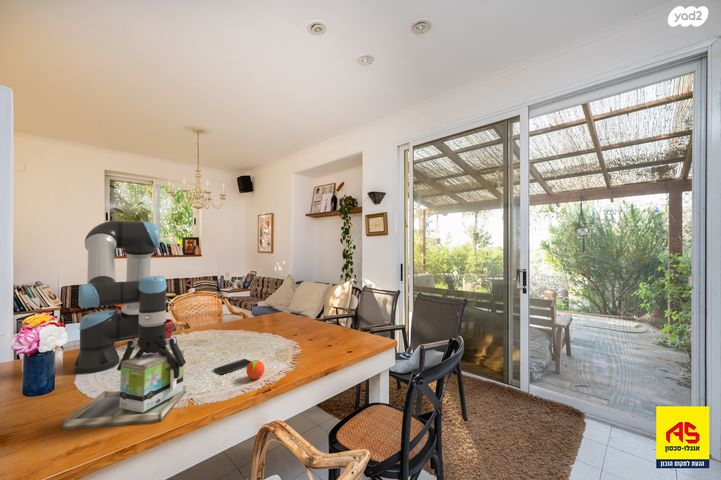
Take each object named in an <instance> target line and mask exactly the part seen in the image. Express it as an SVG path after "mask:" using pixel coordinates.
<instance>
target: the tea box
mask: <svg viewBox="0 0 721 480" xmlns="http://www.w3.org/2000/svg"><path fill="white" fill-rule="evenodd" d="M167 348H168V351H169V352H170V353H171V354H170V356H173V357H174V355H173V352H172V350H171V348H170V347H167ZM179 349H180V348H179ZM180 351H181V353H182V355H183V357H184V358H185V356H184V355H185V354H184V353H185V350H184V349H180ZM174 358H175V357H174ZM184 365H185V364H184ZM184 365H183V366H182V367H180V368H179V377H178V378H176V387H175V388H174V389H173V390H170V370H171V369H172V367H171V365H170V364H169V363H168V362H167V357H166V356H162V355H161V354H159V353H158V352H157V353H145V352H144V353H143V355H141V356H140V357H135V358H133V357H130V358H129V359H128V360H125V361H122V362H121V370H120V382H119V383H120V385H119V386H120V387H119V390H120V408H122V409H126V410H131V411H136V412H142V413H143V412H145V411H146V410H148V409H150V408H152V407H153V406H155V405H157V404H159V403H161V402H163V401H165V400H167V399H168V398H170V397H172V396H174V395H176V394H178V393H180V392H182V391H183V386H184Z"/></svg>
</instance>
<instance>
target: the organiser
mask: <svg viewBox="0 0 721 480" xmlns="http://www.w3.org/2000/svg"><path fill="white" fill-rule="evenodd" d="M186 391H187V386H186V385H183V391H182V392H180V393H178V394H176V395H174V396H172V397H170V398H168V399H167V400H165V401H163V402H161V403H159V404H157V405H155V406H153V407H152V408H150V409H148V410H146V411H145V412H143V413H142V412H136V411H131V410H126V409H122V408H120V389H116V390H115V389H114V390H104V391H103V392H100V393H99V394H98V395H97V396H96V397H94V398H92V399H91V400H90V401H89V402H87V403H86V404H84V405H83V406H81V407H80V408H79V409H77V410H76V411H75V412H73V413H72V414H71V415H68V417H66V418H65V419H64V420H62V421H61V431H62V430H72V429H73V430H74V429H85V428H86V429H87V428H97V427H99V428H100V427H110V426H122V425H136V424H146V423H147V424H148V423H158V422H159V423H161V422H162V421H163V420H164V419H165V418H166V417H167V415H168V414H169V413H170V411H172V409H173V408H174V407H175V406H176V404H177V403H178V402H179V401H180V399H182V397H183V396H184V395H185V394H186V393H187V392H186ZM185 392H186V393H185ZM184 393H185V394H184Z"/></svg>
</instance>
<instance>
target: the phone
mask: <svg viewBox="0 0 721 480" xmlns="http://www.w3.org/2000/svg"><path fill="white" fill-rule="evenodd" d="M252 361H253V360H249V359H246V358H243V359H239V360H236V361H233V362H230V363H226V364H224V365H222V366H218V367H215V368H213V372H214V373H216V372H217V373H216V374H218V373H219V374H218V375H220V374H221V376H225V375H224V374H226V375H228V374H227V373H229V374H231V373H234V372H237V371H240V370H242V368H243V369H246V368H247V366H248V365H249V363H250V362H252ZM239 369H240V370H239ZM236 370H237V371H236ZM233 371H234V372H233ZM230 372H231V373H230Z"/></svg>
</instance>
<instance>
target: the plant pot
mask: <svg viewBox="0 0 721 480" xmlns="http://www.w3.org/2000/svg"><path fill="white" fill-rule="evenodd" d="M164 323H166V338H167V339H169V338H172V335H173V332H174V331H173V330H174V320H173V319H170V318H166V321H165V322H164ZM166 345H168V343H166V344H165V346H166Z"/></svg>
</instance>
